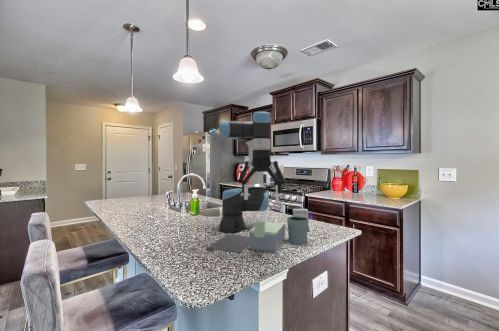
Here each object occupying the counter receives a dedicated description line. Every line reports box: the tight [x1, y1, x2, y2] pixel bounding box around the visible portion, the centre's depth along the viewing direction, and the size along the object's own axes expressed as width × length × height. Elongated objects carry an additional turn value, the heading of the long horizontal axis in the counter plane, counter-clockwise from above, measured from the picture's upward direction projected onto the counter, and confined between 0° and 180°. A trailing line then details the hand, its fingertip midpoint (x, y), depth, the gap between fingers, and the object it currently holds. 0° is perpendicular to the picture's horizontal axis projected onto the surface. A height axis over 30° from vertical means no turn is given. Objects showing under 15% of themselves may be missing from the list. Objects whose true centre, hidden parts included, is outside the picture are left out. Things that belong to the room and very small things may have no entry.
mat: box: [206, 233, 249, 254], centre depth 118 cm, size 16×22×1 cm
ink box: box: [292, 208, 310, 232], centre depth 143 cm, size 9×5×12 cm, turn 84°
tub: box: [248, 225, 286, 253], centre depth 116 cm, size 12×18×8 cm, turn 160°
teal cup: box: [286, 215, 309, 246], centre depth 120 cm, size 10×10×12 cm
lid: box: [248, 220, 286, 238], centre depth 113 cm, size 12×23×7 cm, turn 160°
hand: (261, 200), depth 104 cm, fingers open, 13 cm apart
